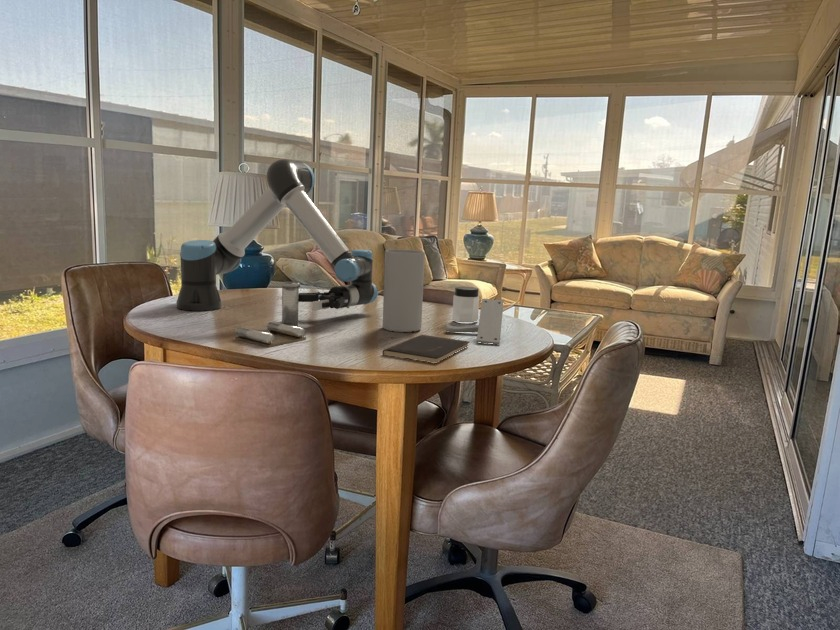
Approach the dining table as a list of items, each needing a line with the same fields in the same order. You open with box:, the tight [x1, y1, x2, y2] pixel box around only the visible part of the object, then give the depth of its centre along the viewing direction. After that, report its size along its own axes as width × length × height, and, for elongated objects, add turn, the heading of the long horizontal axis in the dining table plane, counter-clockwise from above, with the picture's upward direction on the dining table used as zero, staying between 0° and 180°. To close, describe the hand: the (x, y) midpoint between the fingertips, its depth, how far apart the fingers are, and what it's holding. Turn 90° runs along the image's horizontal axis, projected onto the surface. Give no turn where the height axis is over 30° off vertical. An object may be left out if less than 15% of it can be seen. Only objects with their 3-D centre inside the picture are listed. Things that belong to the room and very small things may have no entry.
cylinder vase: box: [382, 249, 426, 333], centre depth 202 cm, size 12×12×25 cm
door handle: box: [444, 298, 504, 345], centre depth 197 cm, size 18×8×20 cm
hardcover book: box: [382, 334, 470, 362], centre depth 176 cm, size 16×23×2 cm
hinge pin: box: [280, 281, 301, 327], centre depth 198 cm, size 6×6×14 cm
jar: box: [451, 286, 480, 322], centre depth 220 cm, size 9×8×12 cm
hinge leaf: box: [234, 321, 307, 348], centre depth 181 cm, size 14×14×3 cm
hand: (297, 303), depth 200 cm, fingers open, 13 cm apart
